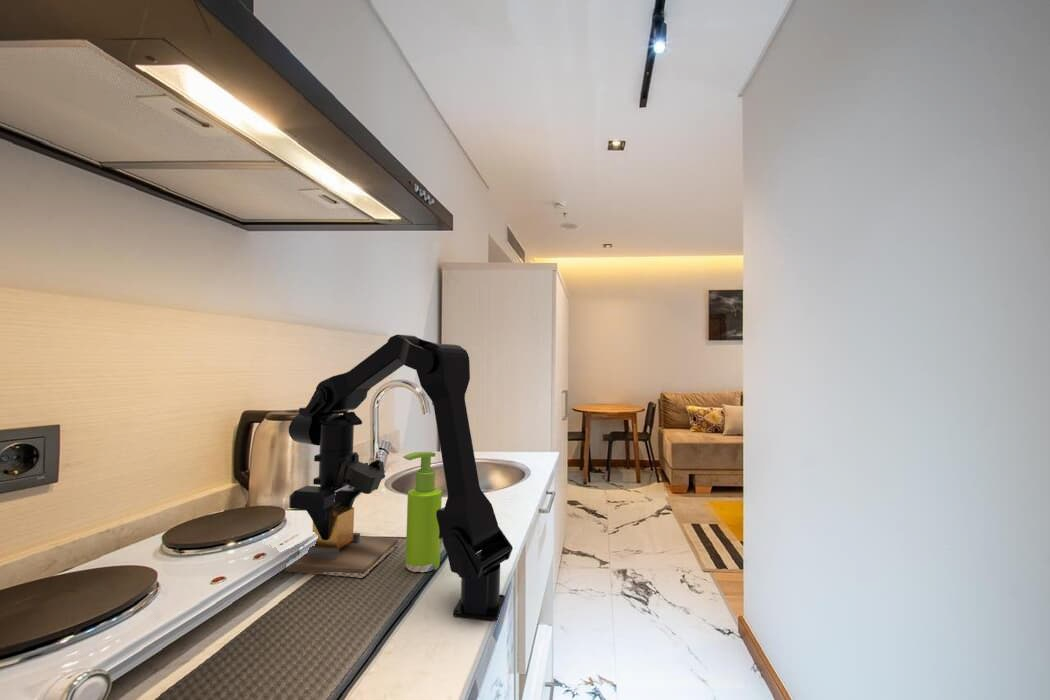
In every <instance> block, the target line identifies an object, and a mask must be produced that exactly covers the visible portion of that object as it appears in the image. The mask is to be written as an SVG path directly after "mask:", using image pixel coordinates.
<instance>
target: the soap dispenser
mask: <svg viewBox="0 0 1050 700" xmlns="http://www.w3.org/2000/svg"><path fill="white" fill-rule="evenodd" d="M433 457H436V453H435V452H434V451H417V452H416V451H415V452H411V453H408V454H406V455H403V458H404V459H405V460H407V461H412V460H415V459H419V458H420V468H419V469H418V470H416V471H415V485H414V488H412V489H411V488H410V489H409V490H408V491H407V508H406V509H407V511H406V538H405V539H406V544H405V564H406V563H407V564H409V565H412V566H425V565H429V564H434V565H435V566H436V567H435V570H434V571H437V570H438V569H439V567H440V562H441V560H440V559H441V557H440V556H441V539H439V525H438V521H437V517H436V513H437V510H439V509H441V508H442V498H443V497H442V494H443V491H442V490H441V489H440V488H438V487H435V486H436V470H434V469H432V468H431V467H432V465H431V464H432V463H431V462H432V458H433Z"/></svg>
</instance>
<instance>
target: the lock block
mask: <svg viewBox="0 0 1050 700" xmlns="http://www.w3.org/2000/svg"><path fill="white" fill-rule="evenodd" d="M354 518H355V507H354V506H352V507H345V506H338V507H337V508H336V509H335V510H334V511H333V516H332V524H331V531H330V536H329V539H328V540H322V538H321V536H320V534H319V532H318V530H317V528H316V526H315V524H314V522H313V521H312V532H315V533H316V534H317V535H318V539H317V541H316V544H315V546H316V547H327V548H338V549H339V548H341V547H343V546H344V545H346V544H347V543H349V542H351V541H352V540H353V533H354V526H355V525H354V524H355V523H354V522H355V519H354Z"/></svg>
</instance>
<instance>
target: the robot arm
mask: <svg viewBox="0 0 1050 700" xmlns="http://www.w3.org/2000/svg"><path fill="white" fill-rule="evenodd" d="M403 366H405V367H407V368H410V369H412V370H415V371H416V374H417V376H418V381H419V384H420V386H421V388H422V390H423V391H424V392H425V394H426V395H427V396H428V398H429V399H430V400H431V401H432V404H433V411H434V417H435V422H436V429H437V436H438V441H439V447H440V448H439V449H440V454H441V461H442V465H443V466H442V467H443V472H444V479H445V485H446V491H447V499H446V502H445V504H444V505H445V506H444V507H441V509H439V510H437V513H436V517H437V521H438V525H439V539H440V540H441V539H442V543H443V547H444V549H445V552H446V556H447V560H448V564H449V569H450V571H451V573H454V574H456V575H457V576H458V577H459V578H461V580H460V583H461V584H460V598H459V600H458V602H457V604H456V606H455V607H454V608H453V611H452V615H453V616H454V617H460V618H462V617H463V618H471V619H472V618H473V619H482V620H489V621H496V620H498V618H499V615H500V613H501V611H502V609H503V606H504V603H505V601H506V596H505V594H501V593H500V587H501V564H502V563H503V562H505V561H508V560H509V559H510V557H511V554H512V552H513V545H512V544H511V542H510V541H509V539H508V538H507V537H506V535H505V533H504V532H503V531H502V529H501V528H500V527H499V523H498V520H497V518H496V517H497V516H496V514H495V511H494V507H493V505H492V503H491V502H490V500H489V498H488V497H487V496H486V495H485V493H484V492H483V491H482V489H481V485H480V481H479V476H478V475H479V473H478V468H477V463H476V457H475V452H474V451H475V450H474V445H473V438H472V434H471V428H470V422H469V416H468V411H467V404H466V393H467V389H468V387H469V384H470V379H471V374H470V373H471V371H470V369H471V368H470V366H471V365H470V356H469V353H468V351H467V350H466V349H464V348H463V347H462V346H461V345H457V344H452V343H451V344H449V343H437V342H432V341H428V340H424V339H422V338H419V337H417V336H415V335H410V334H408V335H407V334H394V335H393V336H392V335H391V336H390V337H389V338H388V339H387V342H386V343H385V344H383V345H382V346H380V347H379V348H378V349H377V350H375V351H373V353H371V354H370V355H368V356H367V357H366V358H365V359H363V360H362V361H360V362H359V363H358V364H356V366H354V367H352V368H351V369H350V370H348V371H346V372H344V373H339V374H335V375H333V376H330V377H328V378H326V379H323V380H322V381H319V383H318V384H317V386H316V387H315V391H314V393H313V395H312V396H311V398H310V399H309V402H308V404H306V406H305V407H299V408H298V414H296V415H295V416H293V418H292V420H291V421H290V424H289V426H288V434H289V437H290V438H291V439H292V440H293V441H294V442H295V443H300V444H306V445H312V446H319V454H316V455H314V457H313V461H314V462H316V463H317V462H318V476H317V477H314V478H313V484H312V485H305V486H303V487H300V488H299V489H295V490H294V491H293V492H292V493H291V494H290V495H289V496H288V497H289V498H288V499H289V500H288V502H289V503H288V504H289V505H288V507H289V509H295V510H296V509H297V510H305V511H306V512H307V514H308V516H309V517H310V518H311V520H312V523H313V522H314V524H315V526H316V528H317V530H318V532H319V534H320V536H321V538H322V540H328V539H329V536H330V531H331V524H332V516H333V511H334V510H335V509H336V508H337V507H338V506H345V507H353V505H354V502H355V500H356V498H357V497H358V496H360V495H361V494H366V495H369V494H371V493H373V492H374V491H376V490H378V489H379V486H380V484H381V483H382V480H384V479H385V478H386V474H385V472H386V470H385V465H384V461H381V460H380V459H375V460H373V461H371V462H370V463H369V462H361V461H360V458H359V457H360V456H359V454H358V452H355V451H354V436H355V434H354V432H355V431H354V430H355V426H359V425H360V426H361V425H362V424H363V420H362V419H361V418H360V417H359V416H358V415H357V414H356V413H355V411H354V410H356V409H357V408H358V407H359V406H360V405H361V404H363V402H364V401H365V400H366V399H367V396H368V393H369V391H370V390H371V389H372V388H373V387H375V386H376V385H378V384H379V383H380V382H382V381H383V380H384V379H386V378H387V377H389V376H390V375H392V374H394V373H395V372H396V371H398V370H399V369H400V368H402V367H403ZM315 485H317V486H315ZM318 485H319V486H318Z"/></svg>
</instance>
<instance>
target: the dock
mask: <svg viewBox="0 0 1050 700" xmlns="http://www.w3.org/2000/svg"><path fill="white" fill-rule="evenodd" d="M397 543H398V544H399V538H391V537H381V536H370V535H368V536H367V535H361V533H358V532H353V540H352V541H351V542H349V543H347V544H346V545H344V546H343V547H341V548H339V549H338V548H327V547H316V546H312V547H310V548H309V550H308V553H307V554H305V555H304V556H303V557H301V558H300V559H298V560H297V561H295V562H294V563H293V564H292V565H290V566H289V567H288V568H287V569H286V568H285V569H284V570H285V572H289V573H299V574H300V573H301V574H309V575H317V574H318V573H324V572H343V573H344V572H345V573H359V574H360V573H361V574H364V573H365V572H366V571H367V570H368V569H370V568H371V567H372V566H373V565H374V564H375V563H376V562H377V561H378V560H379V559H380V558H381V557H382V556H383V555H384V554H385V553H387V552H388V551H389V550H390V549H391V548H392V547H394V546H395V545H396V544H397Z"/></svg>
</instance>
